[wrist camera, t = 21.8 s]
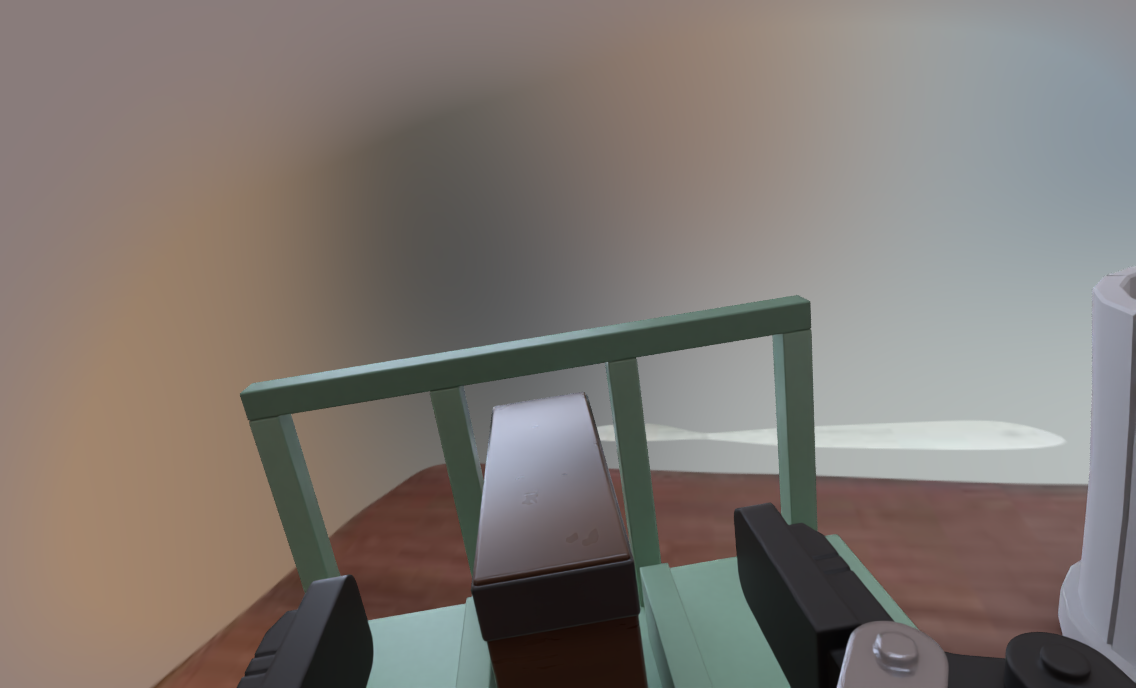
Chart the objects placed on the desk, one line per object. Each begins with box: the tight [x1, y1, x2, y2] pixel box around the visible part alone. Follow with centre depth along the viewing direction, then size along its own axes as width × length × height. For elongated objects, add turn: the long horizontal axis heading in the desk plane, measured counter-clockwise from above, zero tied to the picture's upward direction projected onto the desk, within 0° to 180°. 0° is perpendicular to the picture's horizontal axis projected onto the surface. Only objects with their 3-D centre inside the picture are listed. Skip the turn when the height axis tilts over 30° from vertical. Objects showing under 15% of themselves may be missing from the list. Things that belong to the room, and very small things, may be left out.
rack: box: [240, 295, 918, 688], centre depth 16 cm, size 16×20×12 cm
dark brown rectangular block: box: [471, 392, 649, 688], centre depth 16 cm, size 8×3×10 cm, turn 4°
